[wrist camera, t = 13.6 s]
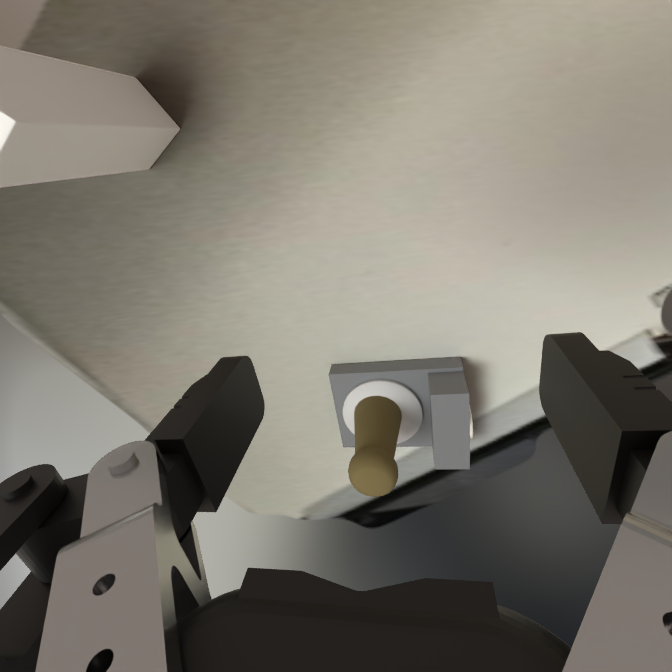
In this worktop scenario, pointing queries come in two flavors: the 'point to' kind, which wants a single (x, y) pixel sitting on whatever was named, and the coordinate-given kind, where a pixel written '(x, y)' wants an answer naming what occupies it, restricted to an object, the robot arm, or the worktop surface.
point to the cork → (375, 446)
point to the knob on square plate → (412, 403)
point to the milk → (74, 121)
